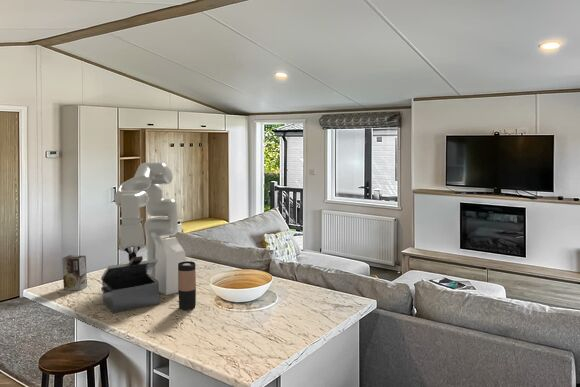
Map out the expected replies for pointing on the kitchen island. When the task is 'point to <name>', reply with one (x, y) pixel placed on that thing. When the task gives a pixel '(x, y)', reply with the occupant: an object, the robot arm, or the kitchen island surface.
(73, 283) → the coffee box
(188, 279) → the travel mug
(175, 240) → the milk
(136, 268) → the lid
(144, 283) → the grey lidded box
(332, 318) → the kitchen island surface
